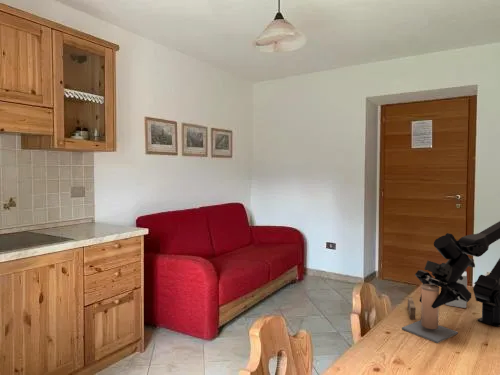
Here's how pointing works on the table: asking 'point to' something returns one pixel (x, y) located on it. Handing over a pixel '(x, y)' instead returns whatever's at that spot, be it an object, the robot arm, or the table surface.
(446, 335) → the dark grey mat
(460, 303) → the supplement box
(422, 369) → the table surface
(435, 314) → the terracotta jar
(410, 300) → the walnut rail
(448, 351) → the table surface
